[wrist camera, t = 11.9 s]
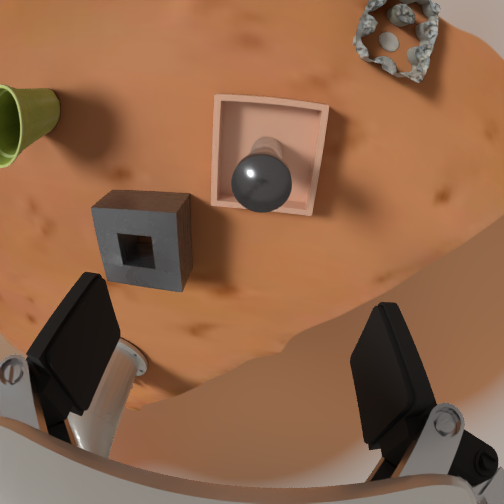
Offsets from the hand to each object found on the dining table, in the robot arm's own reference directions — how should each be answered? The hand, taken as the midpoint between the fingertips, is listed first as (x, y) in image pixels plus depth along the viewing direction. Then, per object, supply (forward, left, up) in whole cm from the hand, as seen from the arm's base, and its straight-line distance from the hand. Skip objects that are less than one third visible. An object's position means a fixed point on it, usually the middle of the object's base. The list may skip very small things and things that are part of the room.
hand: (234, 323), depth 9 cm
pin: (+1, 0, -22) cm, 22 cm away
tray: (+1, 0, -22) cm, 22 cm away
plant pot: (+6, +28, -23) cm, 36 cm away
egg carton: (+16, -11, -23) cm, 30 cm away
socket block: (-10, +13, -22) cm, 27 cm away
